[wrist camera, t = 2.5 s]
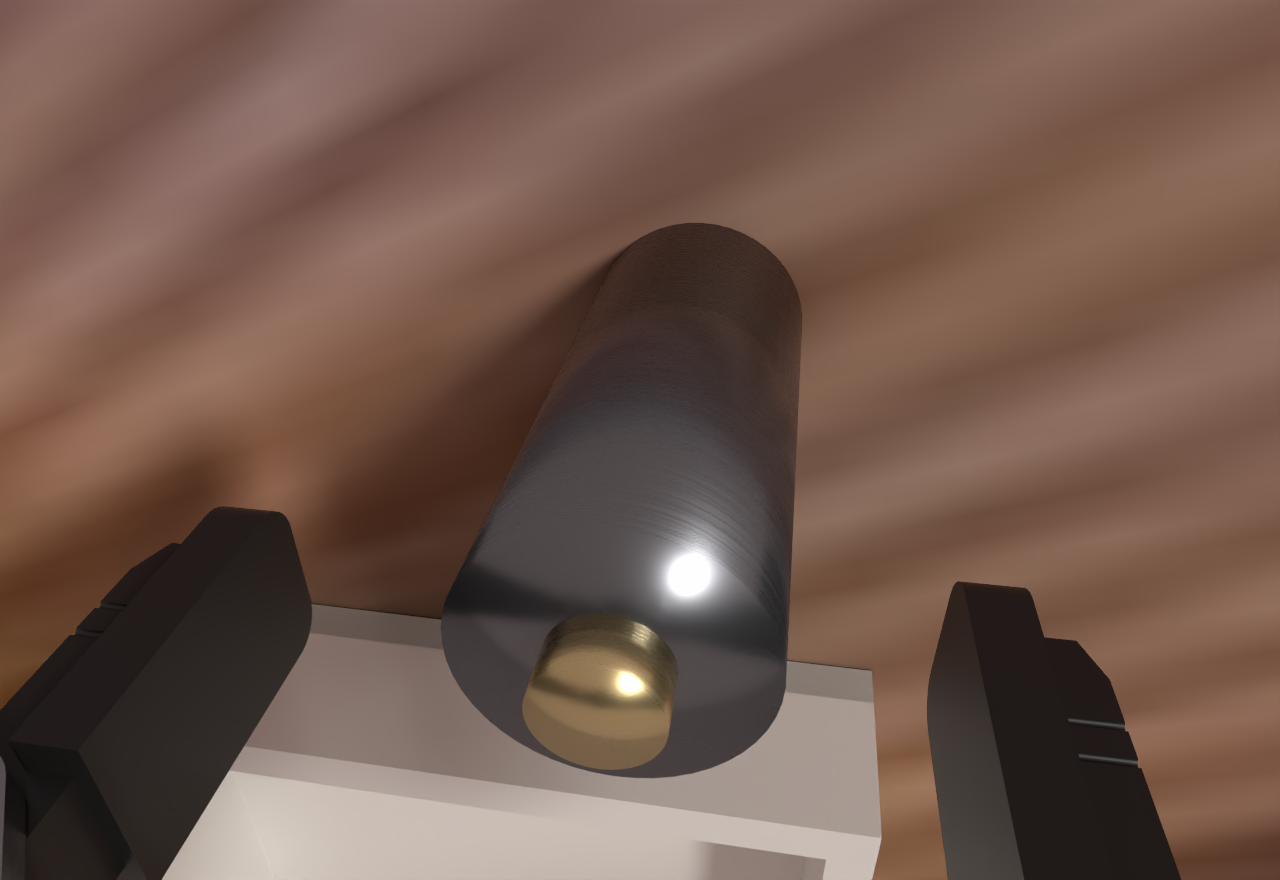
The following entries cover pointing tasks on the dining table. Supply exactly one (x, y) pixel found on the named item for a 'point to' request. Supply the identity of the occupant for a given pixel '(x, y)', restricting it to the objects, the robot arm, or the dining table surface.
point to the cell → (647, 523)
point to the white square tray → (520, 783)
